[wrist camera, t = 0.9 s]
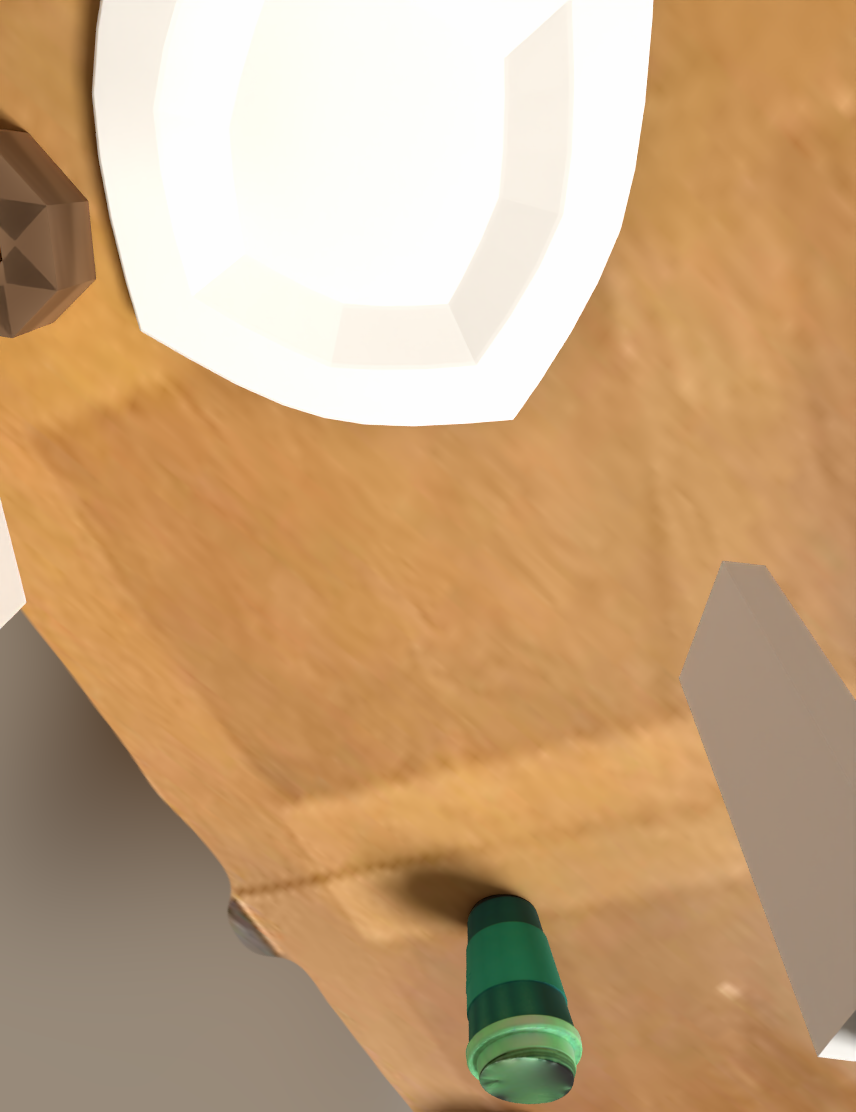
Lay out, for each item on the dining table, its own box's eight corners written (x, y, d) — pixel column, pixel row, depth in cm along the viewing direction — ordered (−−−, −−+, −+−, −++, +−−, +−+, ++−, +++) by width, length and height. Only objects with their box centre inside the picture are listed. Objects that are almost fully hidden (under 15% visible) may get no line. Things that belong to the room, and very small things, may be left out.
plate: (721, -105, 26) (738, -124, 24) (538, 455, 38) (541, 469, 36) (109, -282, 25) (82, -315, 23) (113, 355, 36) (95, 365, 34)
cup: (463, 882, 55) (460, 1049, 45) (566, 882, 55) (587, 1051, 44) (469, 942, 59) (468, 1108, 49) (565, 943, 59) (585, 1112, 48)
